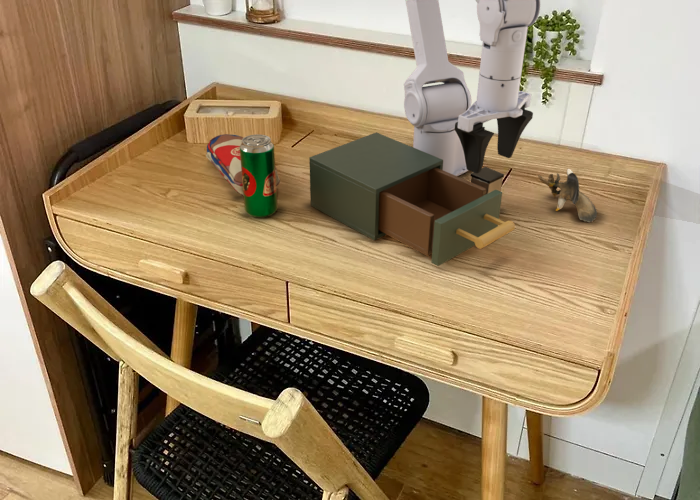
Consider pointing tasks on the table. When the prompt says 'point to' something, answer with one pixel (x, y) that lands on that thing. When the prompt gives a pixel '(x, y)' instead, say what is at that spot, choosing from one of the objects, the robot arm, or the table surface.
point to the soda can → (258, 175)
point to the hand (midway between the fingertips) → (489, 163)
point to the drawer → (441, 214)
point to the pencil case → (229, 159)
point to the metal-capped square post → (488, 179)
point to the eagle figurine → (571, 195)
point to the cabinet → (363, 178)
